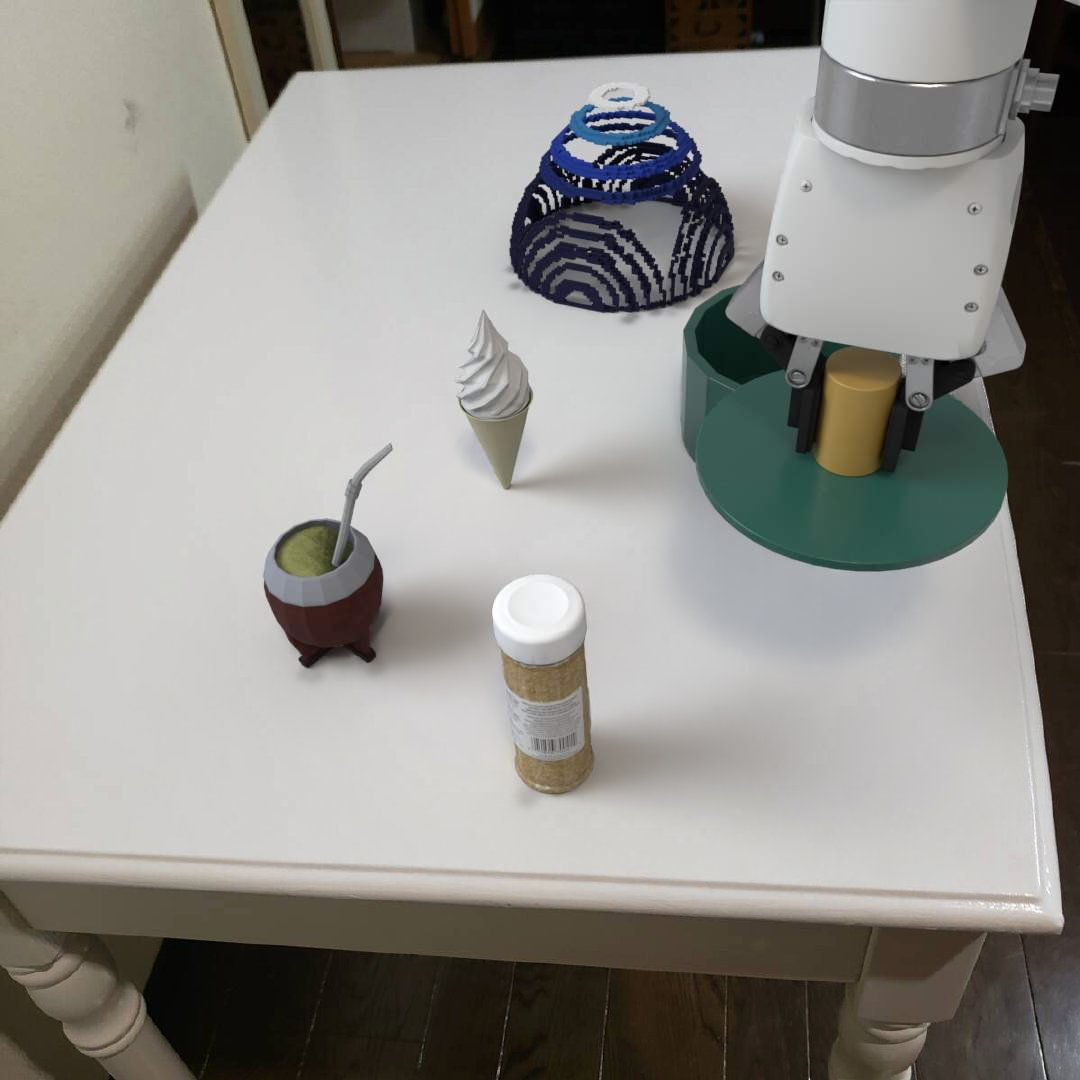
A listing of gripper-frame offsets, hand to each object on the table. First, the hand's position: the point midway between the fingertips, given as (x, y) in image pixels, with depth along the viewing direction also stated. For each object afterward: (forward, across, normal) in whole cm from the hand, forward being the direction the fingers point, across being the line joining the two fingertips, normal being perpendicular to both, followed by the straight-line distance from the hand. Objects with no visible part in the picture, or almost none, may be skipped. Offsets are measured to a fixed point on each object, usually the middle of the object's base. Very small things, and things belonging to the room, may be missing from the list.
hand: (850, 443), depth 57 cm
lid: (+1, 0, 0) cm, 1 cm away
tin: (+16, +7, -19) cm, 26 cm away
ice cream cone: (+16, +24, -7) cm, 30 cm away
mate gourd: (+16, +28, +9) cm, 33 cm away
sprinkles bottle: (+16, +12, +14) cm, 24 cm away
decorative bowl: (+16, +27, -40) cm, 51 cm away
